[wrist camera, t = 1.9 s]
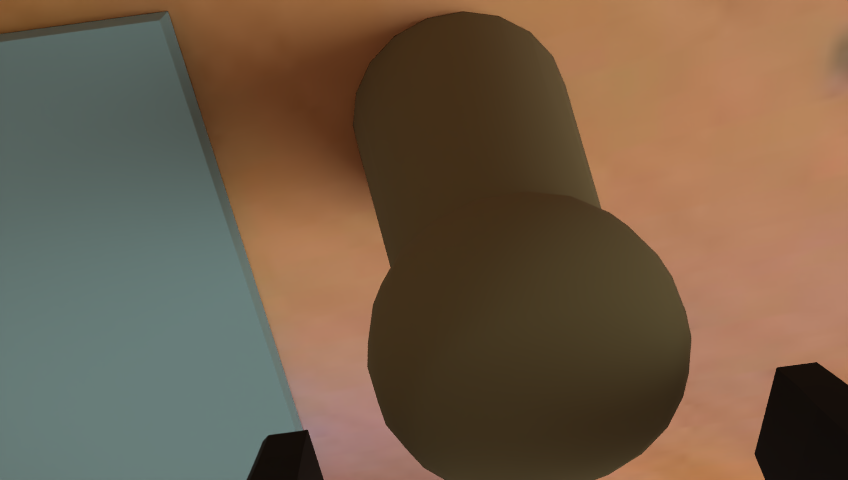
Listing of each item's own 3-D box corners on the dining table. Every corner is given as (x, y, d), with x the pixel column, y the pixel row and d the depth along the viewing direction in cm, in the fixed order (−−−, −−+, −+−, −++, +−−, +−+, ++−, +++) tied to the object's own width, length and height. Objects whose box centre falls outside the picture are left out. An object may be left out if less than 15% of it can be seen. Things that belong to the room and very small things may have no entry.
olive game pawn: (360, 217, 20) (352, 562, 11) (344, 15, 17) (316, 271, 8) (556, 209, 21) (704, 537, 12) (580, 8, 17) (814, 247, 8)
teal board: (315, 469, 27) (314, 486, 26) (-82, 522, 27) (-93, 540, 26) (167, 11, 17) (159, 20, 16) (-467, 97, 17) (-501, 110, 16)
